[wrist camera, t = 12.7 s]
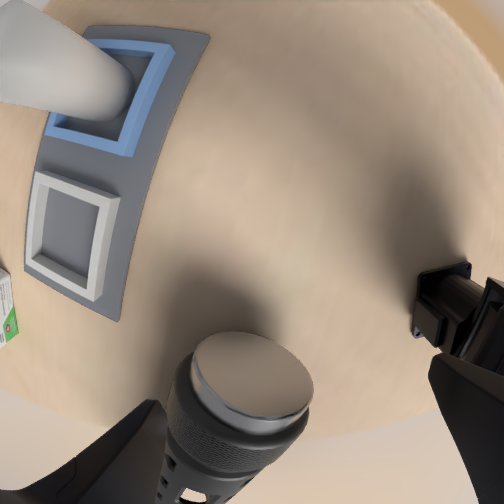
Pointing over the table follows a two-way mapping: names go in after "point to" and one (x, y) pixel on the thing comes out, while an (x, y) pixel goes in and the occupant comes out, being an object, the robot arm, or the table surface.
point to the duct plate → (105, 170)
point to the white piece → (58, 68)
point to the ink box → (6, 309)
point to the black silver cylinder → (231, 415)
